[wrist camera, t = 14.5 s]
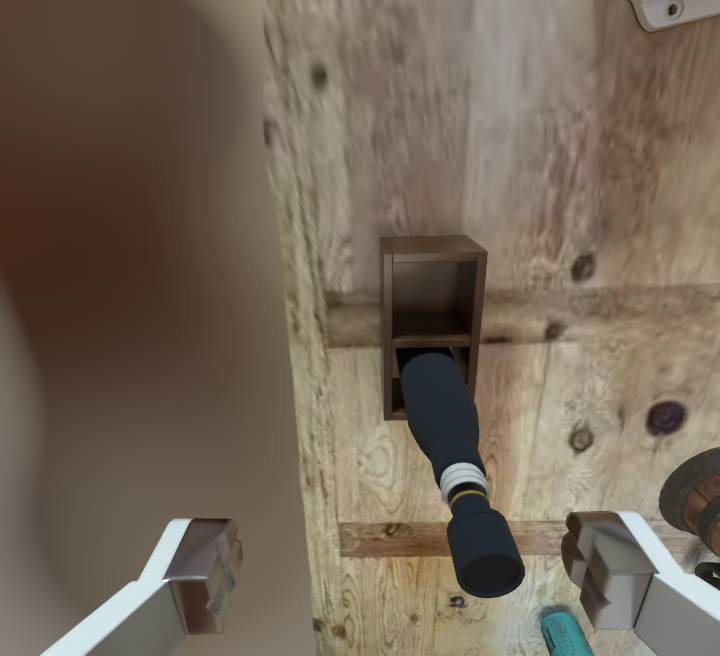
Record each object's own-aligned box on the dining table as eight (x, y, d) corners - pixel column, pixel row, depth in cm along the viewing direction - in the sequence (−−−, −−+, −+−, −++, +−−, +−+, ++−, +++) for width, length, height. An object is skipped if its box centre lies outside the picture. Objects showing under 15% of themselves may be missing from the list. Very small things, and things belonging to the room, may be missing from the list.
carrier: (466, 235, 47) (488, 251, 39) (455, 379, 54) (472, 419, 46) (379, 237, 47) (383, 254, 39) (380, 381, 54) (384, 420, 46)
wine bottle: (449, 324, 50) (558, 535, 22) (445, 371, 52) (539, 614, 25) (396, 324, 50) (438, 535, 22) (394, 371, 52) (431, 613, 25)
